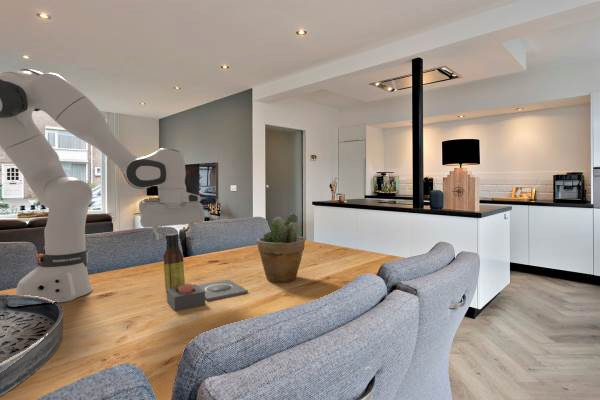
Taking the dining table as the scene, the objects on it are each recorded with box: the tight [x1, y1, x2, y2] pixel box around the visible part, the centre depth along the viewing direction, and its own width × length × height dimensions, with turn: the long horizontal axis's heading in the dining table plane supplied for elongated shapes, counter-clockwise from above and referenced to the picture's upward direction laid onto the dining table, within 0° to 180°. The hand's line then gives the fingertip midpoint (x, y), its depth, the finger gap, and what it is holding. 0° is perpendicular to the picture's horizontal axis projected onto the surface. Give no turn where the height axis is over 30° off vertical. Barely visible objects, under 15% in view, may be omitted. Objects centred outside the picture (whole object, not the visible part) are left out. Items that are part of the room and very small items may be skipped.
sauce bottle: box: [163, 233, 186, 294], centre depth 115 cm, size 7×6×20 cm
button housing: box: [166, 284, 206, 311], centre depth 104 cm, size 9×9×4 cm
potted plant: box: [256, 212, 306, 284], centre depth 130 cm, size 18×19×25 cm
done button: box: [178, 283, 194, 294], centre depth 104 cm, size 4×4×3 cm
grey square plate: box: [196, 279, 249, 302], centre depth 117 cm, size 14×16×1 cm
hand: (174, 238), depth 114 cm, fingers open, 8 cm apart
